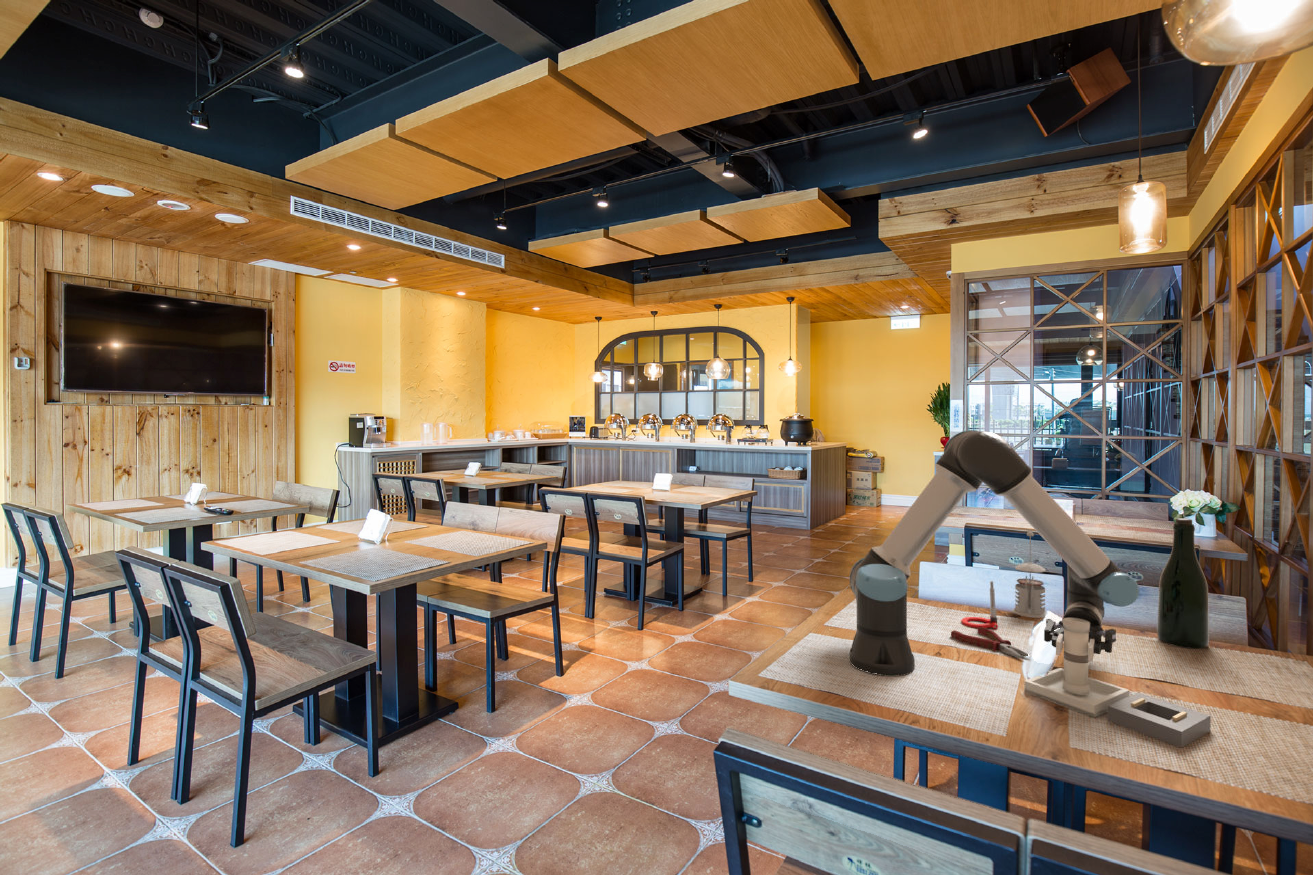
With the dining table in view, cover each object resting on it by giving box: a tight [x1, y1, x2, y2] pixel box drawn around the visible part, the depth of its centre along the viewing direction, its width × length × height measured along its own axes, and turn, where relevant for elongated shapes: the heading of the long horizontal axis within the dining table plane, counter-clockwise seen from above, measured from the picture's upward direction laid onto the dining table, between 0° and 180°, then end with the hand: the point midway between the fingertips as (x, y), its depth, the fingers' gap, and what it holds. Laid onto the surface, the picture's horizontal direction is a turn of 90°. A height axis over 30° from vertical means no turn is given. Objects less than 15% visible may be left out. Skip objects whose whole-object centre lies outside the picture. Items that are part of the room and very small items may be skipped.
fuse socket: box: [1107, 692, 1212, 749], centre depth 123 cm, size 12×12×4 cm
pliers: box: [950, 627, 1029, 660], centre depth 166 cm, size 12×20×3 cm, turn 18°
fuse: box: [1062, 618, 1090, 695], centre depth 136 cm, size 5×5×15 cm
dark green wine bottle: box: [1157, 517, 1210, 650], centre depth 167 cm, size 10×10×33 cm
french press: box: [1011, 531, 1047, 619], centre depth 193 cm, size 10×12×25 cm
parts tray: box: [1023, 667, 1130, 719], centre depth 136 cm, size 14×14×2 cm
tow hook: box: [960, 580, 999, 630], centre depth 184 cm, size 8×13×9 cm
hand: (1074, 651), depth 131 cm, fingers open, 5 cm apart
